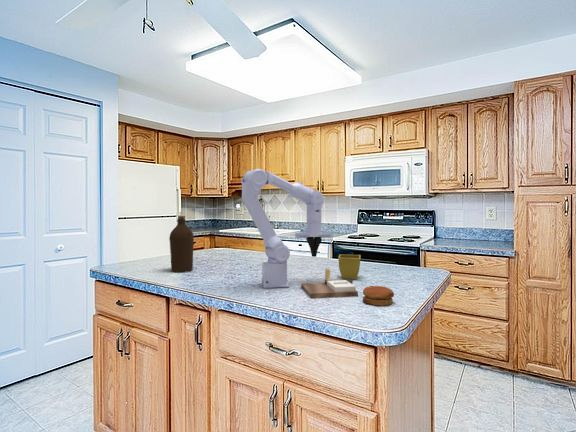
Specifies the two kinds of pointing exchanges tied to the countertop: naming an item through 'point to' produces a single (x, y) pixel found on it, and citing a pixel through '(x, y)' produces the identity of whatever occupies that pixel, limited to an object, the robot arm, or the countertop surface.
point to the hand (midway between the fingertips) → (313, 256)
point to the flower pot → (349, 266)
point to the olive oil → (181, 247)
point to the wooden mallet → (327, 276)
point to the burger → (378, 295)
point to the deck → (324, 291)
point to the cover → (341, 285)
